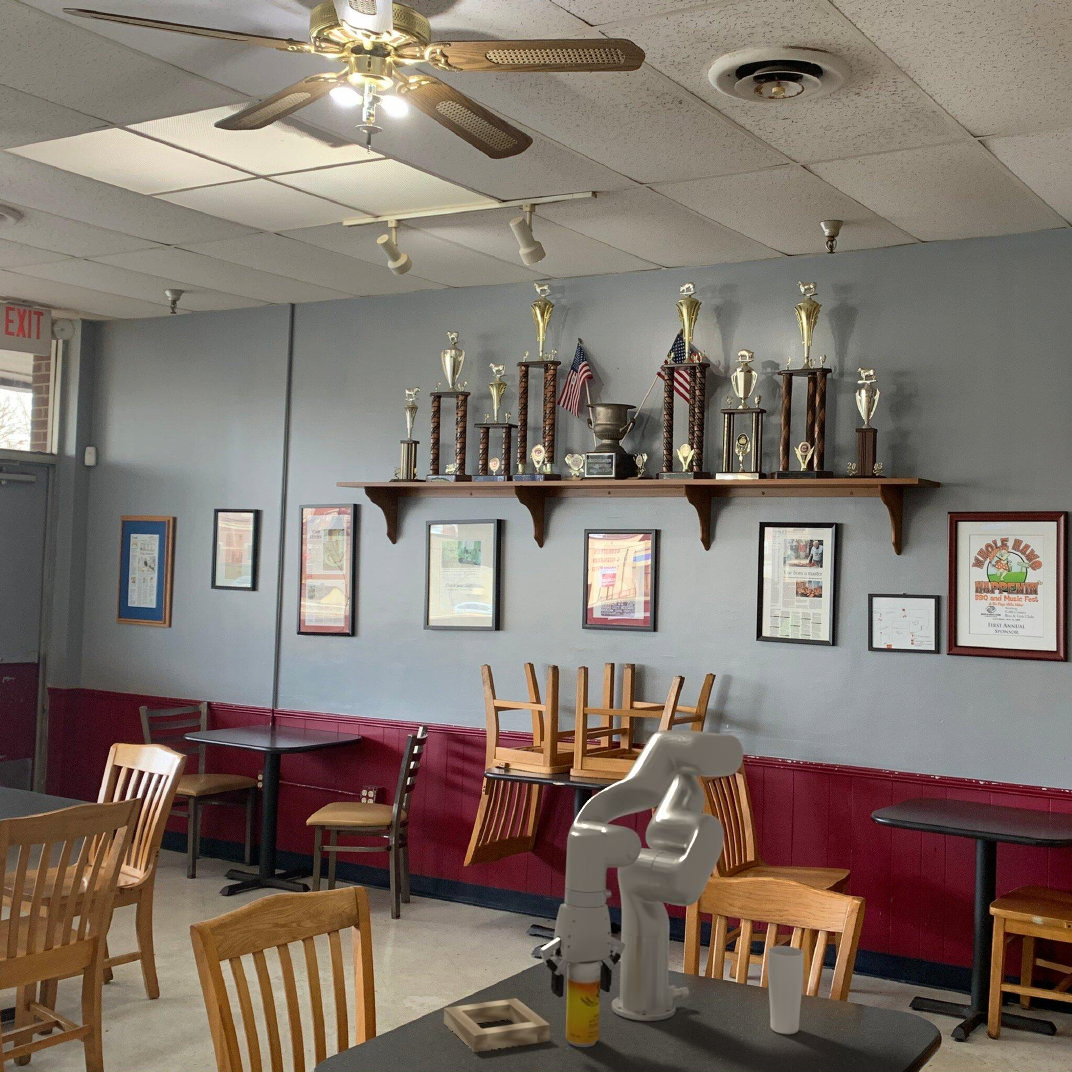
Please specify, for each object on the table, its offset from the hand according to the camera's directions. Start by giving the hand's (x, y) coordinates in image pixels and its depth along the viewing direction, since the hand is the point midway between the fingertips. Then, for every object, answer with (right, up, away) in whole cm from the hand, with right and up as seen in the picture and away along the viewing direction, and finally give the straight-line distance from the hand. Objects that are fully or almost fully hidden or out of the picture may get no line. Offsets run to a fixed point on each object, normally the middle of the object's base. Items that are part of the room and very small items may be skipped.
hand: (581, 992), depth 220 cm
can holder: (-16, -9, +4) cm, 18 cm away
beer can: (0, -9, 0) cm, 9 cm away
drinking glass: (+39, -11, +9) cm, 42 cm away
